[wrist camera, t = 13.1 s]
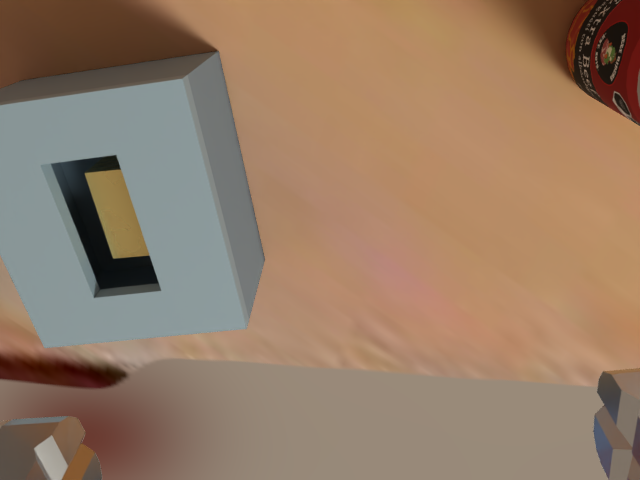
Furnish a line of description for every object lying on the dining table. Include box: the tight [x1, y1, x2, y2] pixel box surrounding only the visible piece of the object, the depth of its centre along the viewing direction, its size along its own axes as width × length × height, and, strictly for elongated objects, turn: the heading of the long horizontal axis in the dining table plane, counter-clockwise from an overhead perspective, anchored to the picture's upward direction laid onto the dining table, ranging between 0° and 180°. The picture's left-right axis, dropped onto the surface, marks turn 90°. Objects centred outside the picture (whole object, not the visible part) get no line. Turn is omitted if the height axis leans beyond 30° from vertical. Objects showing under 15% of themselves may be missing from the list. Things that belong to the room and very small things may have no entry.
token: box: [85, 155, 150, 259], centre depth 37 cm, size 6×2×6 cm, turn 7°
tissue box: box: [0, 51, 265, 348], centre depth 36 cm, size 16×14×9 cm
